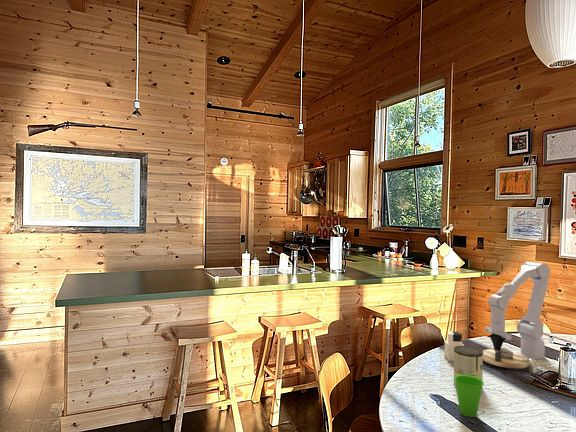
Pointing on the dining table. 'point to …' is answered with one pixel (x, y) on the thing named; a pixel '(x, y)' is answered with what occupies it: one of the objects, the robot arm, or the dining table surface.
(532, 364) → the silver knobbed piece
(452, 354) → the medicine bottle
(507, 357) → the cover
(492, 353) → the platter
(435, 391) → the dining table surface
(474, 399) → the cup
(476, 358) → the coffee can
